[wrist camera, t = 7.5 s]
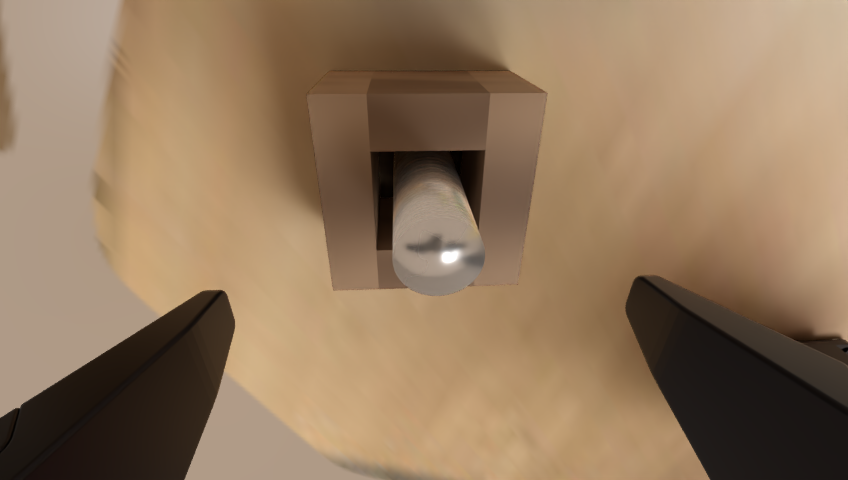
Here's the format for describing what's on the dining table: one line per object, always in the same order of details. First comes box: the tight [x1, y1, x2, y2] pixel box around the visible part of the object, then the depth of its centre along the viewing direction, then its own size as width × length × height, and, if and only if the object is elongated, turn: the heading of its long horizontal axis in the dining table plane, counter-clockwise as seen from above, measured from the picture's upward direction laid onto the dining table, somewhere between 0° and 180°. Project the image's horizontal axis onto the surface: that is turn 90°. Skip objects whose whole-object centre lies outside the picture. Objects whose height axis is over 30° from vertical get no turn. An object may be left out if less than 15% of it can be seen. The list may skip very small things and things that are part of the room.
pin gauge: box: [392, 151, 485, 296], centre depth 14 cm, size 2×2×8 cm
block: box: [306, 71, 548, 290], centre depth 15 cm, size 7×7×4 cm
